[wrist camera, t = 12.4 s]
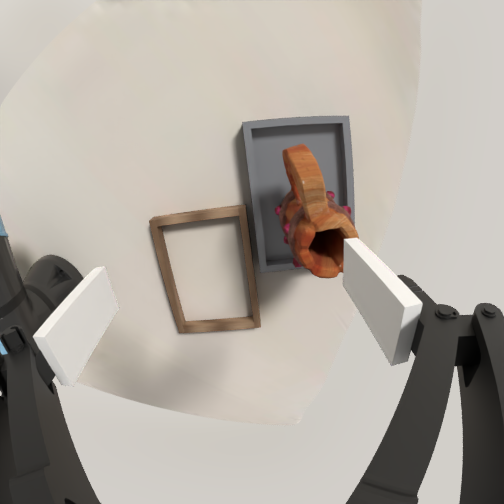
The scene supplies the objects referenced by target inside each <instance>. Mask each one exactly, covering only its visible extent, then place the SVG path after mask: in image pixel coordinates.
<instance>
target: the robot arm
mask: <svg viewBox="0 0 504 504" xmlns="http://www.w3.org/2000/svg"><path fill="white" fill-rule="evenodd" d="M343 286H344V288H345V289H346V291H347V293H348V294H349V296H350V297H351V299H352V301H353V302H354V304H355V305H356V307H357V309H358V310H359V312H360V314H361V315H362V317H363V319H364V320H365V322H366V323H367V325H368V327H369V328H370V330H371V332H372V334H373V335H374V337H375V339H376V340H377V342H378V344H379V346H380V347H381V349H382V351H383V352H384V354H385V356H386V358H387V359H388V361H389V363H390V365H391V366H393V365H396V364H400V363H403V362H407V361H408V358H409V355H410V352H411V350H412V352H413V353H414V355H415V356H416V357H415V360H414V363H413V366H412V369H411V372H410V375H409V378H408V380H407V383H406V386H405V389H404V392H403V394H402V396H401V399H400V401H399V404H398V406H397V409H396V411H395V413H394V416H393V418H392V420H391V422H390V425H389V427H388V429H387V431H386V433H385V435H384V437H383V440H382V442H381V444H380V446H379V448H378V449H377V451H376V453H375V455H374V457H373V459H372V461H371V463H370V465H369V466H368V468H367V470H366V472H365V473H364V475H363V477H362V478H361V480H360V482H359V484H358V485H357V487H356V488H355V490H354V492H353V493H352V495H351V496H350V498H349V500H348V501H347V502H346V504H417V503H418V498H417V493H418V490H419V488H420V485H421V483H422V480H423V478H424V475H425V473H426V470H427V468H428V465H429V462H430V460H431V457H432V454H433V451H434V448H435V445H436V442H437V439H438V435H439V432H440V429H441V425H442V422H443V418H444V414H445V410H446V406H447V402H448V397H449V393H450V388H451V383H452V377H453V372H454V366H457V370H458V377H459V386H460V395H461V407H462V424H463V468H462V484H461V495H460V504H504V316H503V314H502V312H501V311H500V309H498V308H497V307H496V306H495V305H492V304H490V303H480V304H478V305H477V306H476V308H475V310H474V313H473V315H459V313H458V311H457V310H456V309H454V308H453V307H451V306H448V305H443V304H438V305H437V304H436V303H435V302H434V301H433V300H432V299H431V298H430V297H429V296H428V295H427V294H426V293H425V292H424V291H422V289H421V288H420V287H419V286H417V284H416V283H415V282H414V281H413V280H412V279H410V278H408V277H406V276H404V275H398V276H396V275H395V274H394V273H393V272H392V271H391V270H390V269H389V268H388V267H387V266H386V265H385V264H384V263H383V262H382V261H381V260H380V259H379V258H378V257H377V256H376V255H375V254H374V253H373V252H372V251H371V250H370V249H369V248H368V247H367V246H366V245H365V244H364V243H362V242H361V241H360V240H359V239H358V238H349V239H344V267H343ZM118 309H119V305H118V303H117V300H116V297H115V294H114V291H113V288H112V285H111V282H110V279H109V276H108V273H107V270H106V267H105V266H104V267H96V268H94V269H93V270H92V271H91V272H90V273H89V274H88V275H87V276H86V277H85V278H84V279H83V277H82V275H81V274H80V273H79V272H78V270H77V269H76V268H75V267H74V266H73V265H72V264H71V263H69V262H68V261H66V260H65V259H63V258H61V257H59V256H55V255H47V256H44V257H42V258H40V259H39V260H38V261H36V262H35V263H34V264H33V265H32V267H31V268H30V270H29V272H28V274H27V276H26V277H25V279H24V281H23V282H22V279H21V277H20V274H19V271H18V268H17V266H16V263H15V260H14V257H13V253H12V250H11V247H10V244H9V240H8V234H7V233H6V231H5V228H4V225H3V222H2V218H1V216H0V391H1V392H2V395H1V396H0V504H101V503H100V502H99V500H98V498H97V497H96V495H95V492H94V490H93V489H92V487H91V484H90V482H89V480H88V478H87V476H86V473H85V471H84V469H83V467H82V464H81V462H80V459H79V457H78V455H77V452H76V450H75V447H74V444H73V441H72V439H71V436H70V433H69V430H68V427H67V424H66V421H65V418H64V414H63V411H62V408H61V404H60V400H59V397H58V393H57V389H56V386H55V384H54V383H53V381H52V380H53V378H54V377H55V376H56V377H57V379H58V380H59V382H60V383H61V385H65V386H72V387H74V385H75V383H76V381H77V379H78V378H79V376H80V374H81V372H82V370H83V368H84V367H85V365H86V363H87V361H88V359H89V358H90V356H91V354H92V352H93V351H94V349H95V347H96V346H97V344H98V342H99V340H100V339H101V337H102V335H103V334H104V332H105V330H106V329H107V327H108V325H109V324H110V322H111V321H112V319H113V317H114V316H115V314H116V312H117V311H118Z"/></svg>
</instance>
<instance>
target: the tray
mask: <svg viewBox="0 0 504 504" xmlns="http://www.w3.org/2000/svg"><path fill="white" fill-rule="evenodd" d="M242 125H243V133H244V141H245V149H246V157H247V165H248V173H249V181H250V190H251V198H252V206H253V214H254V223H255V231H256V240H257V248H258V257H259V265H260V273H265V272H274V271H283V270H292V269H301V268H304V267H303V266H302V267H295V266H294V265H293V258H294V256H293V254H292V252H291V249H290V246H289V244H286V243H284V240H283V239H284V236H285V234H284V232H283V230H282V227H281V225H280V220H279V215H277V214H276V213H275V208H276V207H277V206H279V205H281V203H282V201H283V199H284V198H285V196H286V194H287V193H288V192H289V191H290V190H291V185H290V182H289V179H288V177H287V174H286V169H285V166H284V161H283V156H282V151H283V150H284V149H287V148H289V147H292V146H296V145H299V144H305V145H306V146H307V147H308V148H309V150H310V151H311V152H312V154H313V156H314V157H315V159H316V160H317V163H318V165H319V168H320V170H321V173H322V176H323V180H324V184H325V190H326V192H327V191H332V192H334V194H335V197H334V199H333V200H334V202H335V203H336V204H337V205H339V206H341V207H343V206H348V207H350V208H351V216H350V217H351V219H352V220H353V222H354V226H355V214H354V178H353V159H352V145H351V132H350V122H349V116H312V117H293V118H279V119H267V120H257V121H248V122H242Z"/></svg>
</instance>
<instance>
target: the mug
mask: <svg viewBox="0 0 504 504" xmlns="http://www.w3.org/2000/svg"><path fill="white" fill-rule="evenodd" d="M282 156H283V161H284V166H285V169H286V174H287V177H288V179H289V182H290V185H291V190H290V191H289V192H288V193H287V194H286V196H285V198H284V199H283V201H282V203H281V205H279V206H277V207H276V208H275V213H276V214H277V215H279V220H280V225H281V227H282V230H283V232H284V234H285V236H284V239H283V240H284V243H286V244H289V246H290V249H291V252H292V254H293V256H294V258H293V265H294V266H295V267H302V266H303V267H304V268H306V269H308V270H310V271H311V273H312V274H313V275H315V276H317V277H319V278H334V277H337V275H338V273H339V272H342V273H343V267H344V239H349V238H358V239H359V237H358V234H357V231H356V229H355V226H354V222H353V220H352V219H351V217H350V216H351V208H350V207H348V206H343V207H341V206H339V205H337V204H336V203H335V202H334V200H333V199H334V197H335V194H334V192H332V191H327V192H326V190H325V184H324V180H323V176H322V173H321V170H320V168H319V165H318V163H317V160H316V159H315V157H314V156H313V154H312V152H311V151H310V150H309V148H308V147H307V146H306V145H305V144H299V145H296V146H292V147H289V148H287V149H284V150H283V151H282Z"/></svg>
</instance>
